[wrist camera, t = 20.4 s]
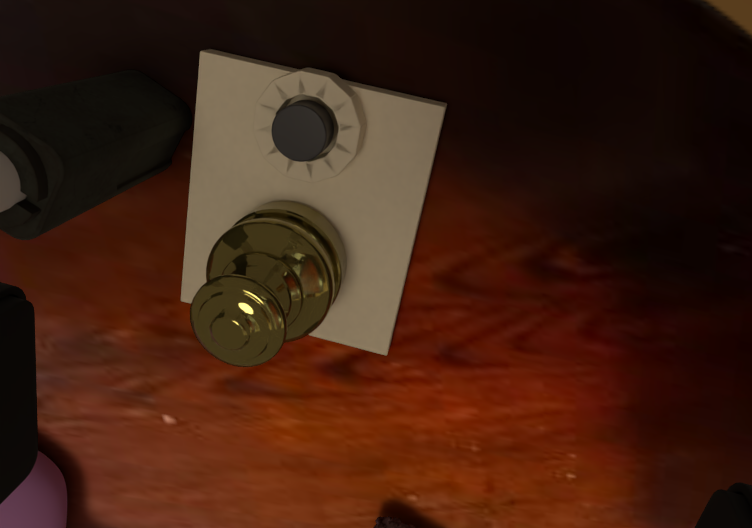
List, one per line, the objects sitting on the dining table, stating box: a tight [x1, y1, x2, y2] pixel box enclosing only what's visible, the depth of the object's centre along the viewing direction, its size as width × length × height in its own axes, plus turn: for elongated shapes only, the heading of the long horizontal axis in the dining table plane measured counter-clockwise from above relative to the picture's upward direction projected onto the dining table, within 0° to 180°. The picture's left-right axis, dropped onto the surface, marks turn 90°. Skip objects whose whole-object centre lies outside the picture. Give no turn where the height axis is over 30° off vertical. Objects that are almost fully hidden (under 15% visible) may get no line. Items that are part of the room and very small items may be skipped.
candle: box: [0, 70, 192, 240], centre depth 29 cm, size 5×5×25 cm
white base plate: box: [181, 49, 447, 355], centre depth 39 cm, size 16×14×3 cm
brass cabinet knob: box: [190, 201, 347, 367], centre depth 36 cm, size 7×7×10 cm
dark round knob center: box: [271, 100, 334, 162], centre depth 35 cm, size 3×3×2 cm
